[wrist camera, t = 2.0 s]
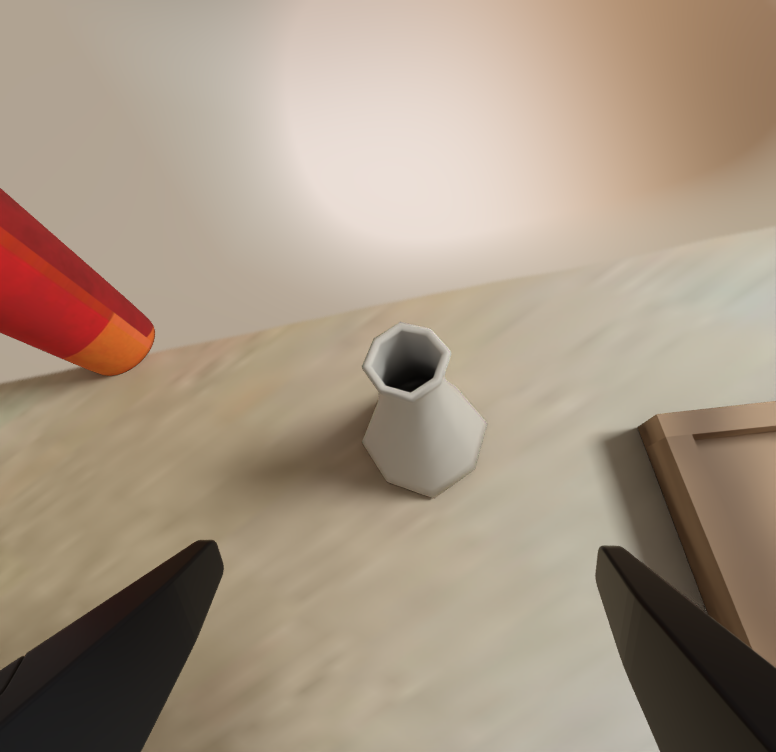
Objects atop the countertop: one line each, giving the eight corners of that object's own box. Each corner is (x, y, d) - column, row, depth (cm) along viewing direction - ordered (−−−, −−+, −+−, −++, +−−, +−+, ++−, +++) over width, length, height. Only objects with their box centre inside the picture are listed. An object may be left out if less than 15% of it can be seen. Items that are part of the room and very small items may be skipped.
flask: (437, 523, 21) (426, 500, 12) (342, 446, 23) (275, 381, 14) (508, 421, 22) (545, 334, 13) (412, 361, 25) (390, 255, 16)
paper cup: (98, 307, 32) (-130, 150, 19) (179, 302, 31) (-9, 130, 18) (61, 391, 29) (-242, 267, 16) (150, 389, 27) (-104, 252, 15)
